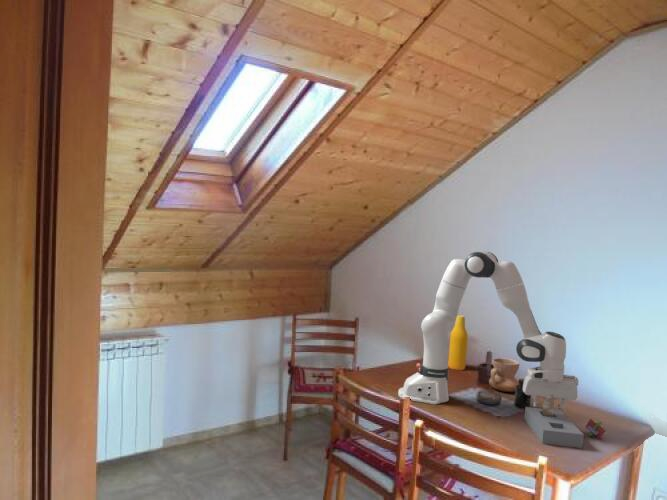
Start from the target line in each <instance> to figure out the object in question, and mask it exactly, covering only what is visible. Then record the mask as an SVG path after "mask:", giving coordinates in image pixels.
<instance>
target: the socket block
mask: <svg viewBox="0 0 667 500" xmlns="http://www.w3.org/2000/svg"><path fill="white" fill-rule="evenodd" d="M524 420H525V422H526V423H527V424H528V426H529V428H530V429H531V430H532V432H533V433H534V434H535V436H536V437H537V438H538V439H539V441H540V442H541V444H544V445H550V446H551V445H553V446H554V445H555V446H562V447H569V448H570V447H571V448H579V449H583V445H584V444H583V443H584V435H585V434H584V433H583V432H582V431H581V430H580V429H579V427H578V426H576V425H575V424H574V423H573V422H572V420H570V418H569V417H568V416H566V414H565V413H564V412H562V410H560V409H558V410H557V409H553V417H548V416H542V408H539V407H531V406H530V407H525V409H524Z"/></svg>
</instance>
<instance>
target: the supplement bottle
mask: <svg viewBox="0 0 667 500" xmlns="http://www.w3.org/2000/svg"><path fill="white" fill-rule="evenodd" d="M524 379H525V378H519V379H518V381H519V382H518V383H519V385H517V386H516V389H515V392H514V401H513V405H514V407H516V408H518V409H521V410H525V407H531V406H532V405H531V404H532V397H531V395H526V394H525V393H524V392H523V383H524Z"/></svg>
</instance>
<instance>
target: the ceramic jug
mask: <svg viewBox="0 0 667 500" xmlns="http://www.w3.org/2000/svg"><path fill="white" fill-rule="evenodd" d="M520 363H521V362H520V361H517V360H515V359H511V358H507V357H505V358H504V357H498V358H493V359H492V365H493V368H491V371H490V378H489V380H488V384H489V385H490V386H491V387H492V388H493V389H494V390H497V391H500V392H504V393H515V389H516V386H517V385H519V383H518V382H519V379H517V378H516V377H515V376H516V374H517V373H518V370H519V369H520Z"/></svg>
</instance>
